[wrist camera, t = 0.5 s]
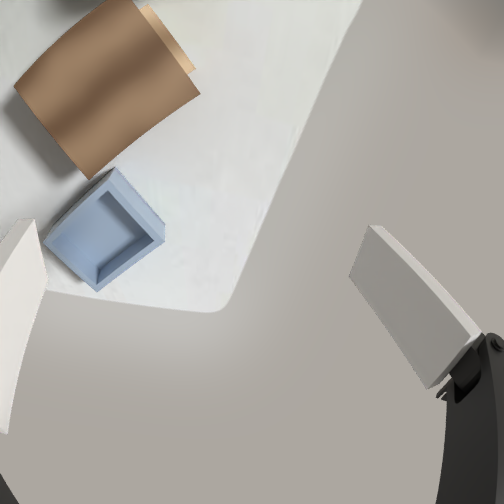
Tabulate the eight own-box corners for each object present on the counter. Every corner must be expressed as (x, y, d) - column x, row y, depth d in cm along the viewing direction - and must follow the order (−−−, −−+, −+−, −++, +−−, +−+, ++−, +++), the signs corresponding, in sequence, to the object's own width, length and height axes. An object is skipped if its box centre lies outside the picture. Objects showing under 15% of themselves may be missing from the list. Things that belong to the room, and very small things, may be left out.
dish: (53, 225, 30) (42, 242, 27) (115, 166, 29) (108, 179, 26) (101, 272, 36) (97, 292, 32) (165, 223, 34) (164, 241, 31)
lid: (25, 83, 18) (13, 86, 16) (127, -4, 17) (122, -11, 15) (95, 171, 25) (88, 180, 23) (198, 92, 24) (200, 93, 22)
